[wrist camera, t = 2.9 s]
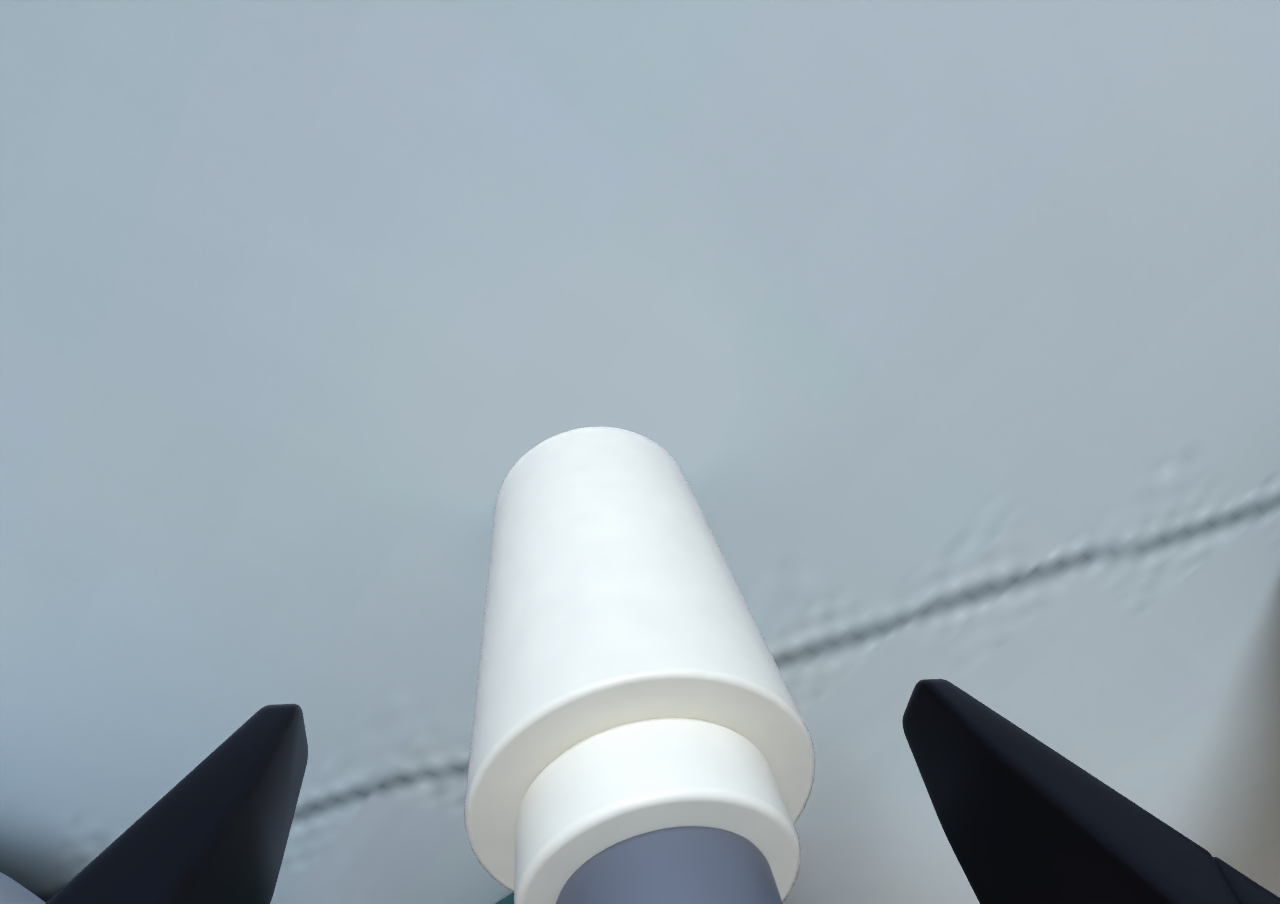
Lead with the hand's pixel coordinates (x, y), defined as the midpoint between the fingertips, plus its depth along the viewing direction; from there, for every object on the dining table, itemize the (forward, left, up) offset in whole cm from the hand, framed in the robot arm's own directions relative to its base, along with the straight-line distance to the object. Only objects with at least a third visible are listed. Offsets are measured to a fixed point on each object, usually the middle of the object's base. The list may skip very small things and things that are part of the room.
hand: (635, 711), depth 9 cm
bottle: (0, 0, -6) cm, 6 cm away
